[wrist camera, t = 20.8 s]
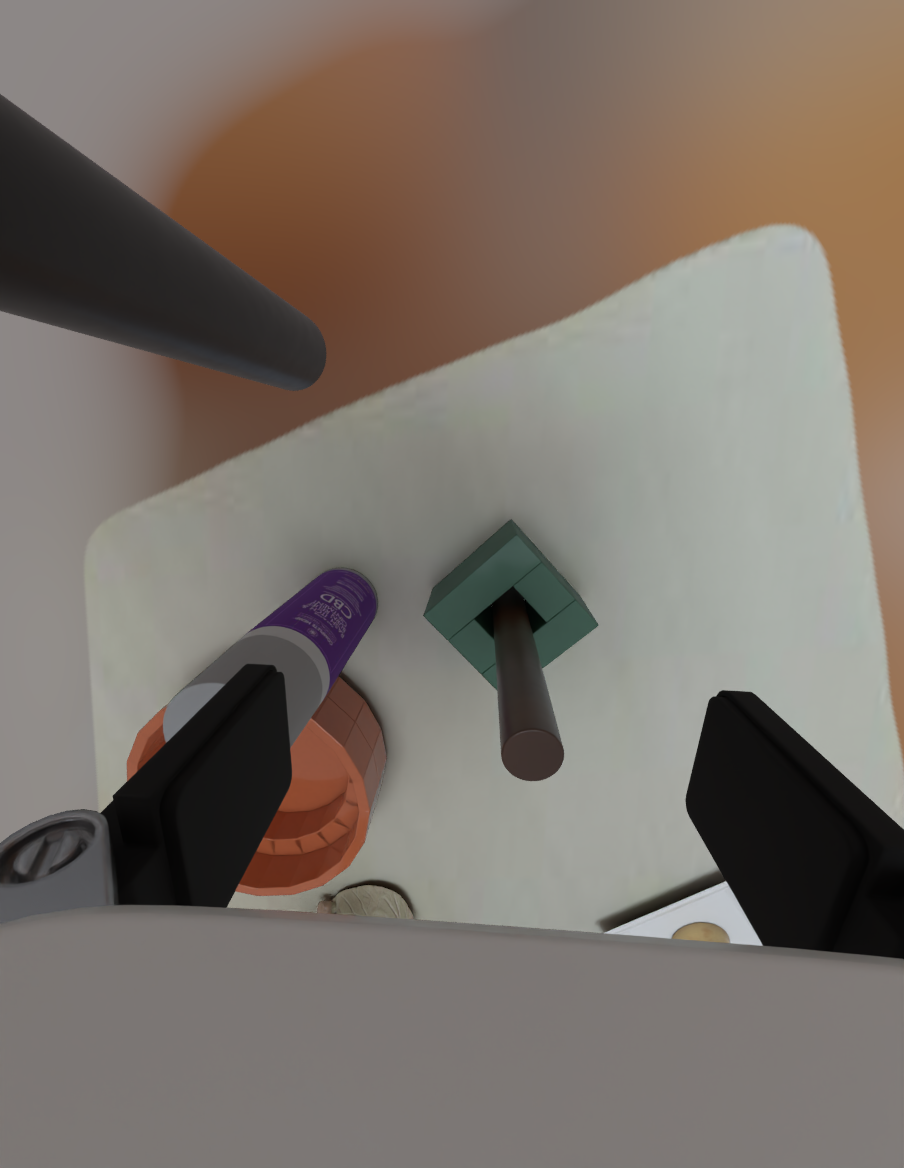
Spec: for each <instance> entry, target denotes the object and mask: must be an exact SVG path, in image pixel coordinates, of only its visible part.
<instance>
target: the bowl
mask: <svg viewBox="0 0 904 1168" xmlns="http://www.w3.org/2000/svg"><path fill="white" fill-rule="evenodd" d="M169 703H170V702H169ZM169 703H168V704H169ZM168 704H167V705H166V706H165V707H163V708H162V709H161V710H160V711H159V712H158V713H157V714H156V715H155V716H154V717H153V718H152V719H151V720H150V721H149V722H148V723H147V724H146V725H145V726H144V727H143V728H142V729H141V730H140V731H139V732H138V734H137V737H136V739H135V742H134V744H133V747H132V750H131V752H130V755H129V757H128V760H127V781H128V780H129V779H130V778H131V777H132V776H133V775H134V774H135V773H136V772H137V771H138V770H139V769H140V768H141V767H142V766H143V765H144V764H145V763H146V762H147V761H148V760H149V759H150V758H151V757H153V756H154V755H155V754H156V753H157V752H158V751H159V750H160V749H161V748H162V747H163V746H164V745H165V744H166V741H165V737H164V733H163V718H164V714H165V711H166V708H167V706H168ZM290 751H291V763H292V780H291V784H290V787H289V790H288V792H287V794H286V796H285V797H284V799H283V801H282V803H281V805H280V807H279V809H278V811H277V813H276V815H275V816H274V818H273V820H272V822H271V824H270V826H269V828H268V830H267V832H266V833H265V835H264V837H263V839H262V841H261V843H260V845H259V847H258V849H257V851H256V852H255V854H254V856H253V858H252V860H251V862H250V864H249V866H248V868H247V870H246V871H245V873H244V875H243V877H242V879H241V881H240V883H239V885H238V887H237V889H236V890H235V891H236V892H241V893H246V894H251V895H256V896H273V895H292V894H293V895H294V894H297V893H300V892H304V891H307V890H310V889H313V888H316V887H319V886H323V885H324V884H326V883H327V882H328V881H330V880H331V879H332V878H334V877H335V876H337V875H338V874H339V873H341V872H342V871H344V870H345V869H346V868H348V867H349V866H350V864H351V863H352V861H353V860H354V858H355V856H356V855H357V853H358V852H359V850H360V849H361V847H362V846H363V844H364V842H365V840H366V836H367V833H368V830H369V826H370V823H371V819H372V816H373V813H374V809H375V806H376V803H377V799H378V796H379V792H380V789H381V786H382V781H383V776H384V770H385V764H386V759H387V758H386V757H387V756H386V751H385V746H384V741H383V735H382V730H381V728H380V726H379V724H378V722H377V721H376V719H375V717H374V715H373V714H372V712H371V710H370V708H369V707H368V705H367V703H366V702H365V701H364V699H363V698H362V697H361V696H360V695H359V694H357V693H356V692H355V691H354V690H353V689H352V688H351V687H350V686H349V685H348V684H347V683H346V682H345V681H344V680H342V679H341V678H340V677H339V676H338V677H337V679H336V681H335V682H334V684H333V686H332V687H331V689H330V690H329V692H328V694H327V695H326V697H325V698H324V700H323V701H322V703H321V704H320V705H319V707H318V708H317V710H316V711H315V713H314V714H313V716H312V717H311V719H310V720H309V721H308V723H307V724H306V726H305V727H304V729H303V730H302V732H301V733H300V735H299V736H298V738H297V739H296V741H295V742H294V743H293V745H292V746H291V748H290Z"/></svg>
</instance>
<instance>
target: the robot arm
mask: <svg viewBox="0 0 904 1168" xmlns="http://www.w3.org/2000/svg"><path fill="white" fill-rule="evenodd" d="M291 780H292V763H291V751H290V738H289V726H288V714H287V702H286V689H285V678H284V674H283V673H282V672H277V669H276V667H275V666H274V665H265V664H246V665H244V666H243V667H242V668H241V669H240V670H239V671H238V672H237V673H236V674H235V675H234V676H233V677H232V678H231V679H230V680H229V681H228V682H227V683H226V684H225V685H224V686H223V687H222V688H221V689H220V690H219V691H218V692H217V693H216V694H215V695H214V696H213V697H212V698H211V699H210V700H209V701H208V702H207V703H206V704H205V705H204V706H203V707H202V708H201V709H200V710H199V711H198V712H197V713H196V714H195V715H194V716H193V717H192V718H191V719H190V720H189V721H188V722H187V723H186V724H185V725H184V726H183V727H182V728H181V729H180V730H179V731H178V732H177V733H176V734H175V735H174V736H173V737H172V738H171V739H170V740H169V741H168V742H167V743H166V744H165V745H164V746H163V747H162V748H161V749H160V750H159V751H158V752H157V753H156V754H155V755H154V756H153V757H151V758H150V759H149V760H148V761H147V762H146V763H145V764H144V765H143V766H142V767H141V768H140V769H139V770H138V771H137V772H136V773H135V774H134V775H133V776H132V777H131V778H130V779H129V780H128V781H127V782H126V783H125V784H124V785H123V786H122V787H121V788H120V789H119V790H118V791H117V792H116V793H115V794H114V795H113V801H112V802H111V803H110V804H109V805H108V806H107V807H106V808H105V809H104V810H103V811H102V812H101V813H98V812H97V811H92V810H85V809H81V810H72V811H65V812H61V813H57V814H54V815H50V816H47V817H45V818H42V819H40V820H38V821H36V822H33V823H31V824H29V825H27V826H25V827H24V828H22V829H20V830H18V831H17V832H15V833H13V834H12V835H10V836H9V837H8V838H6V839H5V840H4V841H2V842H1V843H0V1168H904V830H903V829H902V828H901V827H900V826H899V825H898V824H897V823H896V822H895V821H894V820H892V819H891V818H890V817H889V816H888V815H887V814H886V813H885V812H884V811H883V810H881V809H880V808H879V807H878V806H877V805H876V804H875V803H874V802H873V801H872V800H871V799H869V798H868V797H867V796H866V795H865V794H864V793H863V792H862V791H861V790H860V789H858V788H857V787H856V786H855V785H854V784H853V783H852V782H851V781H850V780H849V779H847V778H846V777H845V776H844V775H843V774H842V773H841V772H840V771H839V770H838V769H836V768H835V767H834V766H833V765H832V764H831V763H830V762H829V761H828V760H827V759H825V758H824V757H823V756H822V755H821V754H820V753H819V752H818V751H817V750H816V749H814V748H813V747H812V746H811V745H810V744H809V743H808V742H807V741H806V740H805V739H803V738H802V737H801V736H800V735H799V734H798V733H797V732H796V731H795V730H794V729H793V728H791V727H790V726H789V725H788V724H787V723H786V722H785V721H784V720H783V719H782V718H780V717H779V716H778V715H777V714H776V713H775V712H774V711H773V710H772V709H771V708H769V707H768V706H767V705H766V704H765V703H764V702H763V701H762V700H761V699H760V698H758V697H757V696H756V695H755V694H753V693H752V692H742V691H725V690H722V691H720V692H719V693H718V695H717V696H716V697H712V698H711V699H710V700H709V703H708V707H707V711H706V715H705V719H704V723H703V727H702V732H701V736H700V740H699V744H698V748H697V753H696V757H695V761H694V765H693V769H692V774H691V778H690V782H689V786H688V790H687V794H686V808H687V812H688V815H689V817H690V819H691V820H692V822H693V824H694V826H695V827H696V829H697V831H698V833H699V834H700V836H701V838H702V840H703V841H704V843H705V845H706V847H707V848H708V850H709V852H710V854H711V855H712V857H713V859H714V861H715V862H716V864H717V866H718V868H719V869H720V871H721V873H722V875H723V876H724V878H725V880H726V882H727V883H728V885H729V887H730V889H731V890H732V892H733V894H734V896H735V897H736V899H737V901H738V903H739V904H740V906H741V908H742V910H743V912H744V913H745V915H746V917H747V919H748V920H749V922H750V924H751V926H752V927H753V929H754V931H755V933H756V934H757V936H758V938H759V940H760V941H761V943H762V945H763V946H758V945H746V944H733V943H721V942H708V941H696V940H683V939H671V938H658V937H646V936H633V935H620V934H606V933H593V932H580V931H566V930H553V929H539V928H526V927H512V926H498V925H484V924H471V923H457V922H443V921H429V920H414V919H399V918H384V917H369V916H354V915H339V914H324V913H310V912H295V911H280V910H260V909H240V908H226V907H227V906H228V904H229V902H230V900H231V898H232V896H233V894H234V892H235V890H236V889H237V887H238V885H239V883H240V881H241V879H242V877H243V875H244V873H245V871H246V870H247V868H248V866H249V864H250V862H251V860H252V858H253V856H254V854H255V852H256V851H257V849H258V847H259V845H260V843H261V841H262V839H263V837H264V835H265V833H266V832H267V830H268V828H269V826H270V824H271V822H272V820H273V818H274V816H275V815H276V813H277V811H278V809H279V807H280V805H281V803H282V801H283V799H284V797H285V796H286V794H287V792H288V790H289V787H290V784H291Z"/></svg>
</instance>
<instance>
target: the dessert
mask: <svg viewBox="0 0 904 1168" xmlns="http://www.w3.org/2000/svg"><path fill="white" fill-rule="evenodd" d="M604 933H606V934H620V935H633V936H646V937H658V938H671V939H683V940H696V941H708V942H721V943H733V944H746V945H758V946H763V945H762V943H761V941H760V940H759V938H758V936H757V934H756V933H755V931H754V929H753V927H752V926H751V924H750V922H749V920H748V919H747V917H746V915H745V913H744V912H743V910H742V908H741V906H740V904H739V903H738V901H737V899H736V897H735V896H734V894H733V892H732V890H731V889H730V887H729V885H728V883H727V882H726V881H725V882H722V883H720V884H718V885H715V886H713V887H711V888H708V889H706V890H703V891H701V892H699V893H696V894H694V895H692V896H689V897H687V898H685V899H682V900H680V901H678V902H675V903H673V904H670V905H668V906H666V907H663V908H661V909H659V910H656V911H654V912H652V913H649V914H647V915H645V916H642V917H640V918H637V919H635V920H633V921H630V922H628V923H626V924H623V925H621V926H619V927H616V928H614V929H611V930H609V931H607V932H604Z"/></svg>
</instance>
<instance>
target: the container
mask: <svg viewBox="0 0 904 1168" xmlns="http://www.w3.org/2000/svg"><path fill="white" fill-rule="evenodd" d="M377 608H378V599H377V594H376V592H375V589H374V587H373V586H372V584H371V583H370V582H369V580H368V579H367V578H366V577H364V576H363V575H362V574H360V573H359V572H357V571H354V570H351V569H347V568H334V569H330V570H328V571H325V572H324V573H322V574H321V575H319V576H318V577H317V578H315V579H314V580H313V581H312V582H310V583H309V584H308V585H307V586H305V587H304V588H303V589H302V590H300V591H299V592H298V593H297V594H295V595H294V596H293V597H292V598H290V599H289V600H288V601H287V602H285V603H284V604H283V605H282V606H280V607H279V608H278V609H277V610H275V611H274V612H273V613H272V614H270V615H269V616H268V617H267V618H265V619H264V620H263V621H262V622H260V623H259V624H258V625H257V626H255V627H254V628H253V629H251V630H250V631H249V632H248V633H246V634H245V635H244V636H243V637H242V638H241V639H240V640H238V641H237V642H236V643H235V644H234V645H233V646H232V647H230V648H229V649H228V650H227V651H226V652H225V653H224V654H222V655H221V656H220V657H219V658H218V659H217V660H216V661H214V662H213V663H212V664H211V665H210V666H209V667H207V668H206V669H205V670H204V671H203V672H202V673H201V674H199V675H198V676H197V677H196V678H195V679H194V680H193V681H191V682H190V683H189V684H188V685H187V686H186V687H185V688H183V689H182V690H181V691H180V692H179V693H178V694H177V695H175V696H174V698H173V699H172V700H171V701H170V703H169V704H168V706H167V708H166V711H165V714H164V718H163V733H164V737H165V741H166V743H167V742H168V741H169V740H170V739H171V738H172V737H173V736H174V735H175V734H176V733H177V732H178V731H179V730H180V729H181V728H182V727H183V726H184V725H185V724H186V723H187V722H188V721H189V720H190V719H191V718H192V717H193V716H194V715H195V714H196V713H197V712H198V711H199V710H200V709H201V708H202V707H203V706H204V705H205V704H206V703H207V702H208V701H209V700H210V699H211V698H212V697H213V696H214V695H215V694H216V693H217V692H218V691H219V690H220V689H221V688H222V687H223V686H224V685H225V684H226V683H227V682H228V681H229V680H230V679H231V678H232V677H233V676H234V675H235V674H236V673H237V672H238V671H239V670H240V669H241V668H242V667H243V666H244V665H246V664H265V665H274V666H275V667H276V669H277V672H282V673H283V674H284V678H285V689H286V702H287V714H288V726H289V738H290V748H291V746H292V745H293V743H294V742H295V741H296V739H297V738H298V736H299V735H300V733H301V732H302V730H303V729H304V727H305V726H306V724H307V723H308V721H309V720H310V719H311V717H312V716H313V714H314V713H315V711H316V710H317V708H318V707H319V705H320V704H321V703H322V701H323V700H324V698H325V697H326V695H327V694H328V692H329V690H330V689H331V687H332V686H333V684H334V682H335V681H336V679H337V677H338V676H339V674H340V673H341V671H342V669H343V668H344V666H345V665H346V663H347V661H348V660H349V658H350V656H351V655H352V653H353V652H354V650H355V648H356V647H357V645H358V644H359V642H360V640H361V639H362V637H363V636H364V634H365V632H366V631H367V629H368V627H369V626H370V624H371V623H372V621H373V619H374V617H375V615H376V613H377Z"/></svg>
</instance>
